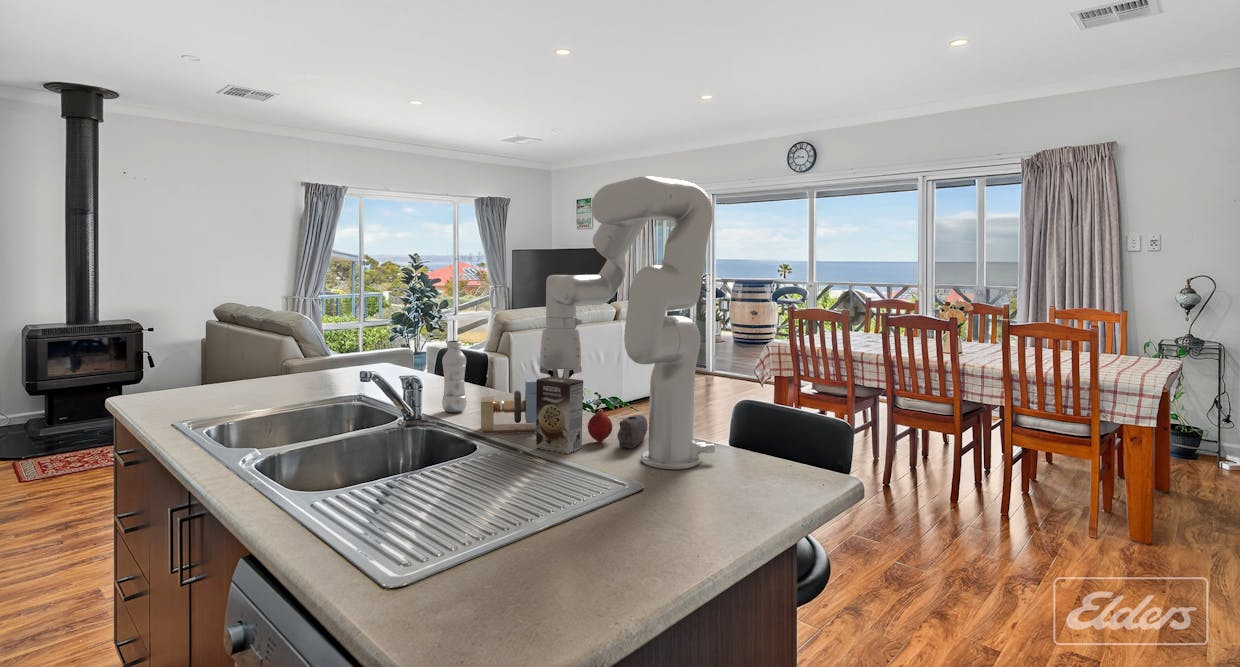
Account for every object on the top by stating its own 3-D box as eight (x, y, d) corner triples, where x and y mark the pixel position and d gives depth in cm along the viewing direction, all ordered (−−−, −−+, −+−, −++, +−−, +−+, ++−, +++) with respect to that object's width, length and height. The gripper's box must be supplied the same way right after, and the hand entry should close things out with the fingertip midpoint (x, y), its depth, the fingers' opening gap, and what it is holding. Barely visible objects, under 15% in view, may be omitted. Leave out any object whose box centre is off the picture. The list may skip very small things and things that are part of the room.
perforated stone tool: (634, 435, 168) (635, 407, 168) (654, 437, 166) (655, 409, 166) (612, 450, 154) (612, 420, 154) (633, 453, 153) (634, 423, 152)
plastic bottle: (440, 410, 191) (439, 340, 189) (464, 408, 194) (463, 339, 192) (444, 415, 186) (443, 343, 183) (469, 413, 188) (468, 342, 186)
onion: (601, 447, 157) (601, 413, 156) (582, 442, 160) (582, 409, 160) (616, 441, 162) (617, 409, 161) (598, 437, 165) (598, 405, 164)
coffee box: (534, 448, 155) (534, 379, 153) (550, 442, 160) (550, 375, 158) (568, 454, 150) (569, 383, 149) (583, 447, 156) (584, 379, 154)
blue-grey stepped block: (540, 416, 176) (540, 378, 174) (542, 422, 169) (542, 383, 168) (525, 416, 175) (525, 378, 174) (526, 423, 168) (526, 383, 167)
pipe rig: (548, 425, 176) (548, 395, 175) (550, 431, 170) (550, 400, 169) (481, 427, 173) (481, 397, 172) (481, 433, 167) (480, 402, 166)
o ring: (520, 417, 175) (520, 388, 174) (521, 425, 167) (521, 394, 167) (514, 418, 175) (514, 388, 174) (514, 425, 167) (514, 394, 166)
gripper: (588, 322, 175) (587, 392, 177) (530, 322, 173) (530, 393, 175) (592, 325, 168) (591, 398, 170) (531, 325, 165) (531, 399, 167)
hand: (560, 395), depth 172 cm, fingers closed
